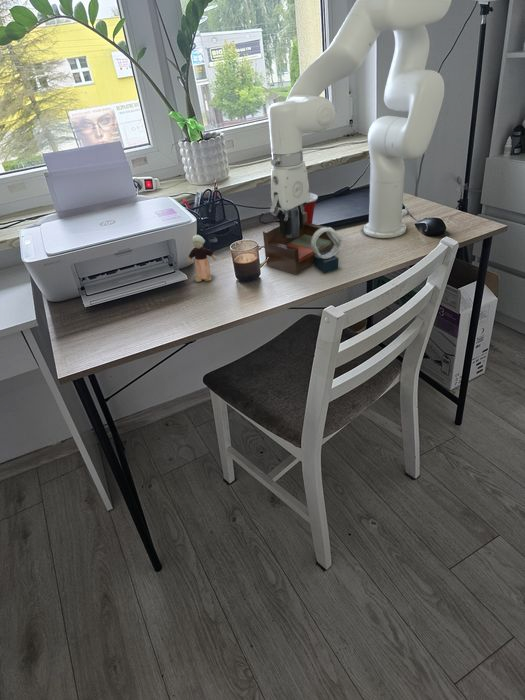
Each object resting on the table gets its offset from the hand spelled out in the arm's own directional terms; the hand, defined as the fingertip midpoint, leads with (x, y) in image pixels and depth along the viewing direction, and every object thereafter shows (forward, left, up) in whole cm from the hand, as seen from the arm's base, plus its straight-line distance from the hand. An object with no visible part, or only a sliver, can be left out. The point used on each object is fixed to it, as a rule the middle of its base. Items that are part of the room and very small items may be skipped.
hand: (291, 230), depth 123 cm
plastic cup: (-18, -12, -10) cm, 24 cm away
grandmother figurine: (+20, -15, -10) cm, 27 cm away
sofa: (-4, -1, -10) cm, 11 cm away
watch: (-3, +9, -10) cm, 14 cm away
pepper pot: (0, 0, -1) cm, 1 cm away
